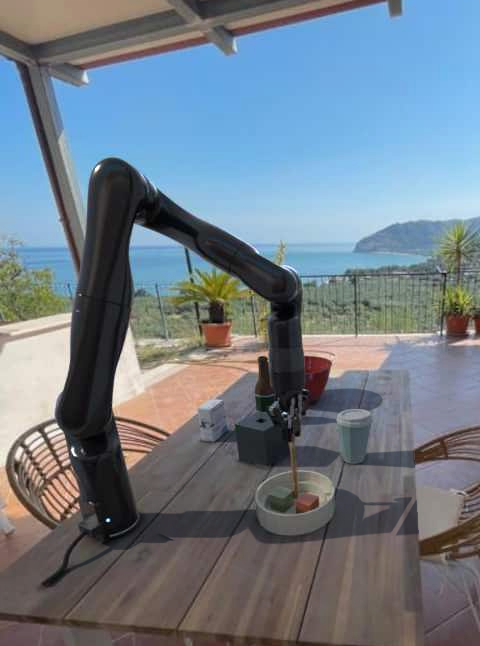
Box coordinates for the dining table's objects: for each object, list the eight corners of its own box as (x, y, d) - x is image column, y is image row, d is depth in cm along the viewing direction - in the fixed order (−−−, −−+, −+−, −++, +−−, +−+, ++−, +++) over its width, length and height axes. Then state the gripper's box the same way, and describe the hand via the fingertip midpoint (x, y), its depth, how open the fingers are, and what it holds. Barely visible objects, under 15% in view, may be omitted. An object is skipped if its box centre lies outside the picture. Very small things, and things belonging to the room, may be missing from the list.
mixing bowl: (253, 410, 151) (249, 372, 146) (278, 386, 178) (275, 353, 172) (324, 414, 148) (323, 375, 142) (338, 389, 174) (338, 356, 168)
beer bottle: (253, 423, 140) (246, 358, 132) (264, 415, 147) (258, 353, 138) (272, 426, 138) (266, 360, 129) (282, 417, 145) (278, 355, 136)
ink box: (215, 429, 135) (210, 398, 131) (228, 431, 134) (224, 399, 130) (201, 440, 127) (195, 407, 123) (215, 442, 126) (210, 409, 122)
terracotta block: (310, 520, 89) (309, 505, 87) (295, 515, 90) (294, 501, 89) (319, 510, 92) (319, 496, 91) (305, 506, 94) (304, 492, 92)
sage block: (284, 513, 91) (283, 499, 90) (270, 508, 93) (269, 494, 91) (294, 504, 94) (293, 490, 93) (281, 499, 96) (280, 485, 95)
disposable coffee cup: (329, 458, 117) (328, 412, 111) (355, 446, 124) (354, 402, 118) (354, 471, 110) (354, 423, 104) (379, 458, 117) (380, 412, 111)
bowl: (308, 548, 81) (306, 525, 79) (240, 523, 89) (237, 501, 87) (348, 501, 97) (347, 480, 95) (287, 483, 104) (286, 464, 102)
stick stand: (267, 469, 111) (264, 431, 107) (239, 460, 115) (234, 424, 111) (289, 452, 120) (286, 417, 116) (262, 445, 124) (258, 411, 120)
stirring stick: (297, 502, 93) (292, 421, 85) (288, 499, 94) (282, 419, 86) (303, 496, 95) (299, 417, 87) (294, 493, 96) (289, 415, 88)
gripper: (291, 356, 90) (295, 424, 96) (250, 371, 78) (258, 448, 84) (319, 359, 86) (322, 430, 93) (281, 376, 75) (287, 455, 81)
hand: (291, 438), depth 88 cm, fingers closed on stirring stick, 2 cm apart
